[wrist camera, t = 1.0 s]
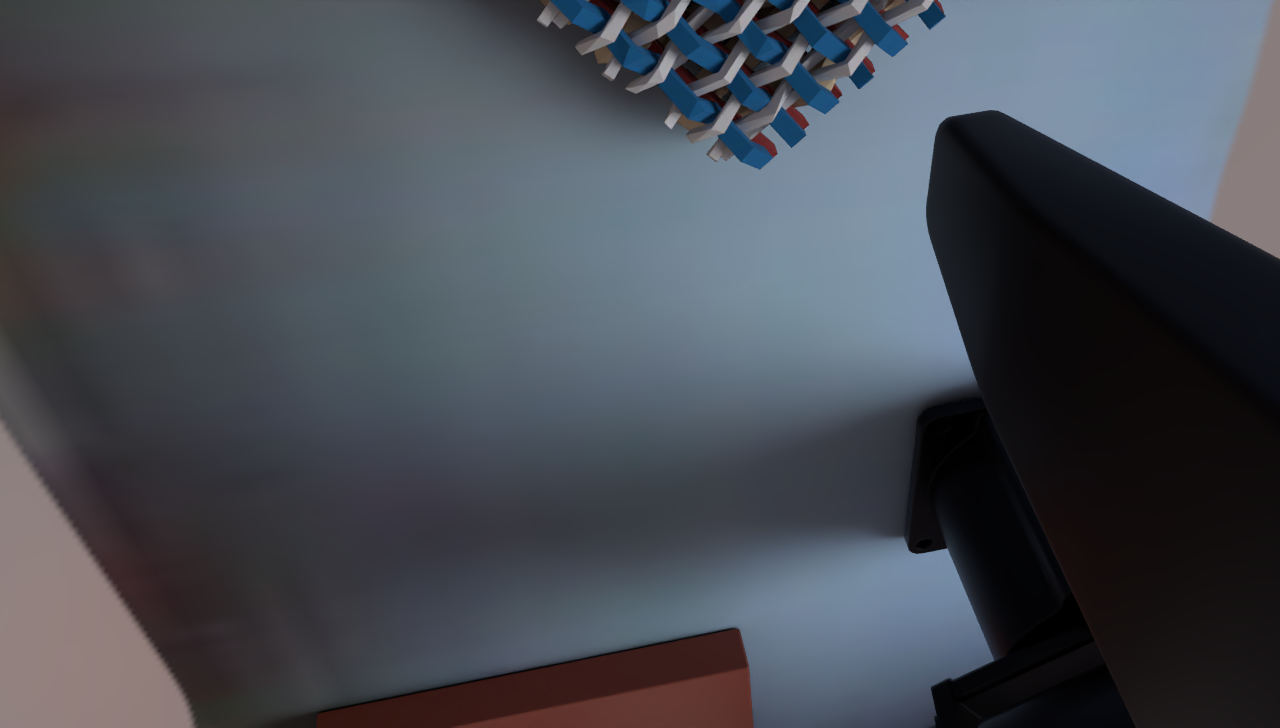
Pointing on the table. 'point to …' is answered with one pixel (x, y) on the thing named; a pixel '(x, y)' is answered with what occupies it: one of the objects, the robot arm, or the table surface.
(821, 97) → the woven mat
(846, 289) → the table surface
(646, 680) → the reddish brown box
